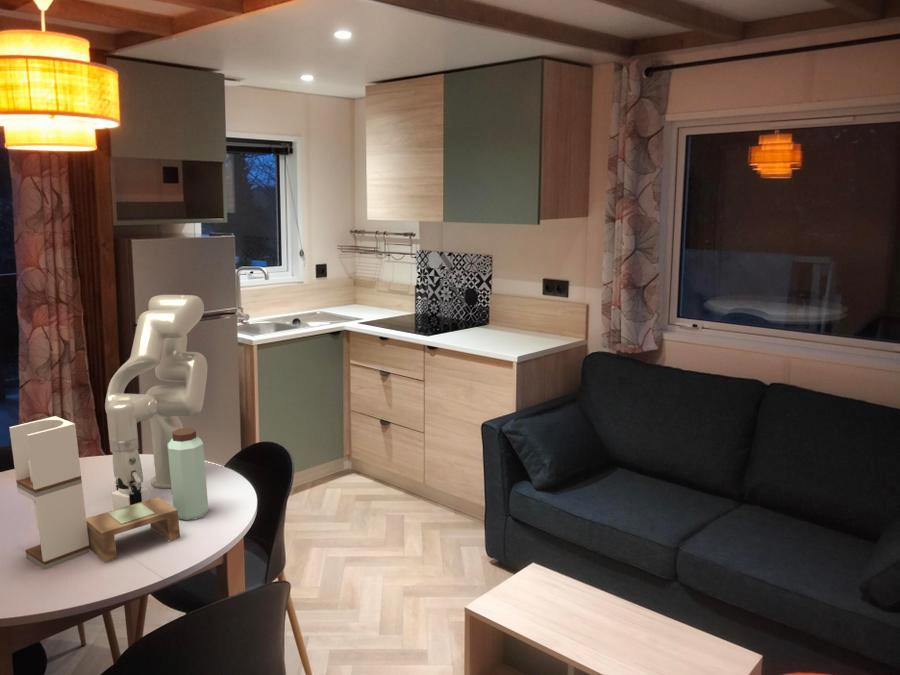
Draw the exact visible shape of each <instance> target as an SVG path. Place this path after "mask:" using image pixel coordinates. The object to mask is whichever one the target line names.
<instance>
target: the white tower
mask: <svg viewBox="0 0 900 675" xmlns="http://www.w3.org/2000/svg"><path fill="white" fill-rule="evenodd" d="M8 428H9V434H10V442H11V451H12V459H13V465H14V467H13V468H14V472H15V473H14V474H15V480H16V488H17V493H18V494H20V495H22V496H24V497H25V498H27V499H30V500H31V501H33V508H34V517H35V524H36V529H37V530H38V532H39V533H38V535H39V542H40V544H38V545H34V546H32V547H29V548H26V549H25V556H26V558H27V557H28V558H27V559H29V560H31V561H32V562H33V561H34V562H33V563H35V564H36V565H38V566H40V568H42V569H44V570H48V569H50V568H53V567H55V566H58V565H61V564H63V563H67V562H69V561H71V560H74V559H76V558H79V557H82V556H84V555H86V554H89V553H91V550H90V549H89V540H88V531H87V523H86V518H87V517H86V516H87V515H86V507H85V506H86V505H85V497H84V491H83V490H84V489H83V480H82V471H81V464H80V454H79V446H78V437H77V428H76V423H74V422H71V421H69V420H66V419H64V418H61V417H59V416H56V415H54V416H50V417H46V418H42V419H38V420H34V421H30V422H26V423H21V424H17V425H13V426H8Z"/></svg>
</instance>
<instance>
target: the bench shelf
mask: <svg viewBox="0 0 900 675" xmlns="http://www.w3.org/2000/svg"><path fill="white" fill-rule="evenodd" d="M179 521H180V519H178V510H177V509H176V508H174V507H173V505H171V504H170V503H169V502H166V500H163V499H162V498H161V497H159V496H158V497H153V498H151V499H150V498H149V500H147V501H143V502H140V503H137V504H133V505H130V506H126V507H123V508H120V509H116V510H113V509H112V510H110V511H107V512H103V513H100V514H96V515H93V516H90V517H86V523H87V531H88V540H89V549H90V552H93V553H94V555H95V556H97V557H98V558H99V559H100V560H101V561H102V562H104V563H107V562H110V561H113V560H117V558H118V557H117V548H116V547H117V546H116V540H115V539H116V538H115V535H119V534H123V533H125V532H127V531H131V530H135V529H138V528H140V527H144V526H147V525H150V528H151V529H152V530H154V531H155V532H156V533H158V534H160V535H161V536H162V538H165V539H166V540H167V541H169V542H171V541H173V540H177V539H179V538H181V533H180V532H181V531H180V522H179Z"/></svg>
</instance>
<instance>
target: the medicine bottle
mask: <svg viewBox="0 0 900 675" xmlns="http://www.w3.org/2000/svg"><path fill="white" fill-rule="evenodd" d="M117 482H118V490H117V489H116V490H115V491H113V492H112V493H111V500H112V511H113V510H116V509H120V508H123V507H126V506H130V498H129V494H131V493H130V490H129V488H128V486H126V485H124V484H123V482H122V480H121V479H120V478H117ZM133 482H134V481H132V482H130V483H133ZM134 486H135V485H134ZM134 486H132V489H133V488H134ZM141 487H142V488H141V496H142V502H143V501H147V500H150V496H149V488H147V487H145V486H141Z"/></svg>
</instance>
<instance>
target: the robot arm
mask: <svg viewBox="0 0 900 675" xmlns="http://www.w3.org/2000/svg"><path fill="white" fill-rule="evenodd" d="M204 312H205V306H204V302H203V300H202V298H201V297H199V296H198V295H194V294H192V295H191V294H160V295H159V294H158V295H155V296H152V297H151V298H150V299H149V300H148V310H146V311H144V312H142V313H141V314H140V315H139V316H138V320H137V324H136V329H135V333H134V338H133V342H132V343H133V344H132V348H131V352H130V357H129V358H128V359H127V360H126V361H125V363H123V364H122V365H121V366H120V367H119V368H118V369H117V371H116V372H115V373H114V374H113V376H112V378H110V382H109V384H108V386H107V392H106V394H105V395H106V397H105V403H104V409H105V413H106V420H107V429H108V431H107V432H108V440H109V449H110V452H111V453H112V466H113V468H112V470H113V476H114V478H115V487H116V491H117V490H118V482H117V478H120V479H121V480H122V482H123V484H124V485H126V486H128V488H129V490H130V493H131V494H129V498H130V505H133V504H137V503H140V502H142V496H141V488H142V487H143V486H142V483H143V482H144V475H143V468H142V461H141V458H140V453H139V448H140V446H139V445H140V444H139V435H138V425H137V424H138V423H139V422H140V423H141V422H144V421H147V420H149V424H150V432H151V444H152V453H153V461H154V462H153V464H154V473H155V474H154V476H153V477H152V478H151V479H150V485H151V486H152V487H153V488H156V489H164V490H165V489H171V478H170V467H169V456H168V445H167V444H168V443H169V442H170V441H171V439H172V432H173V431H175V430H177V429H182V428H184V427H183V423H182V421H181V419H180V418H179V417H195V416H196V417H197V416H198V415H199V414H200V413H201V411H202V409H203V405H204V399H205V393H206V385H207V384H206V383H207V380H208V379H207V378H208V362H207V358H206V357H205V356H204V354H202V353H201V352H198V351H187V345H188V336H187V334H188V333H189V332H191V330H192V329H193V328H194V327H195V326H197V324H198V323H199V322H200V321H201V319H202V317H203V314H204ZM152 369H154V373H155V377H156V378H157V379H158V380H160V381H163V382H173V383H174V382H175V383H177V382H179V383H186V384H185V385H174V384H171V385H170V384H160V385H154V386H152V387H150V388H149V389H148V390H146V392H145V394H143V393H140V394H139V393H125V390H126V388H127V386H128V384H129V383H130V382H131V381H132V380H133V379H134V378H135V377H137V376H139V375H140V374H143V373H145V372H148V371H150V370H152ZM132 481H134V482H133V483H130V482H132ZM134 485H135V486H134ZM132 486H134V488H133V489H132Z"/></svg>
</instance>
